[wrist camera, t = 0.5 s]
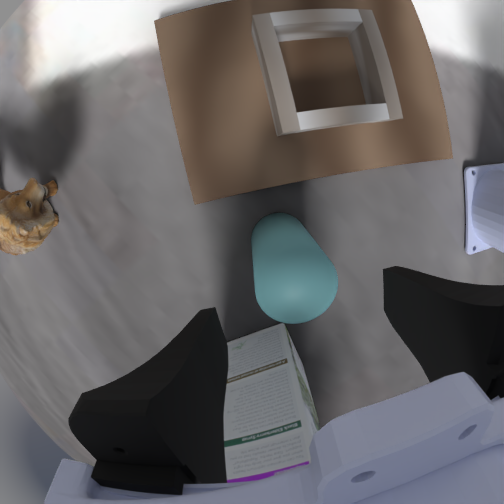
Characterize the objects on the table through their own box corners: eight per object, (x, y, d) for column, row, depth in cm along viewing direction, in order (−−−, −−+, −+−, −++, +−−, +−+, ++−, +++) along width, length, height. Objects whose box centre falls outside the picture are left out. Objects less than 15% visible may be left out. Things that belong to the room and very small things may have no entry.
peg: (301, 207, 21) (332, 239, 13) (309, 259, 22) (341, 313, 14) (245, 219, 21) (246, 257, 13) (257, 270, 22) (264, 331, 15)
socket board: (404, 4, 15) (428, -15, 11) (444, 157, 19) (476, 161, 15) (158, 26, 16) (141, 3, 12) (197, 201, 20) (186, 213, 16)
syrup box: (220, 342, 24) (204, 500, 10) (286, 318, 24) (322, 479, 10) (247, 386, 26) (250, 527, 12) (307, 366, 25) (343, 507, 12)
